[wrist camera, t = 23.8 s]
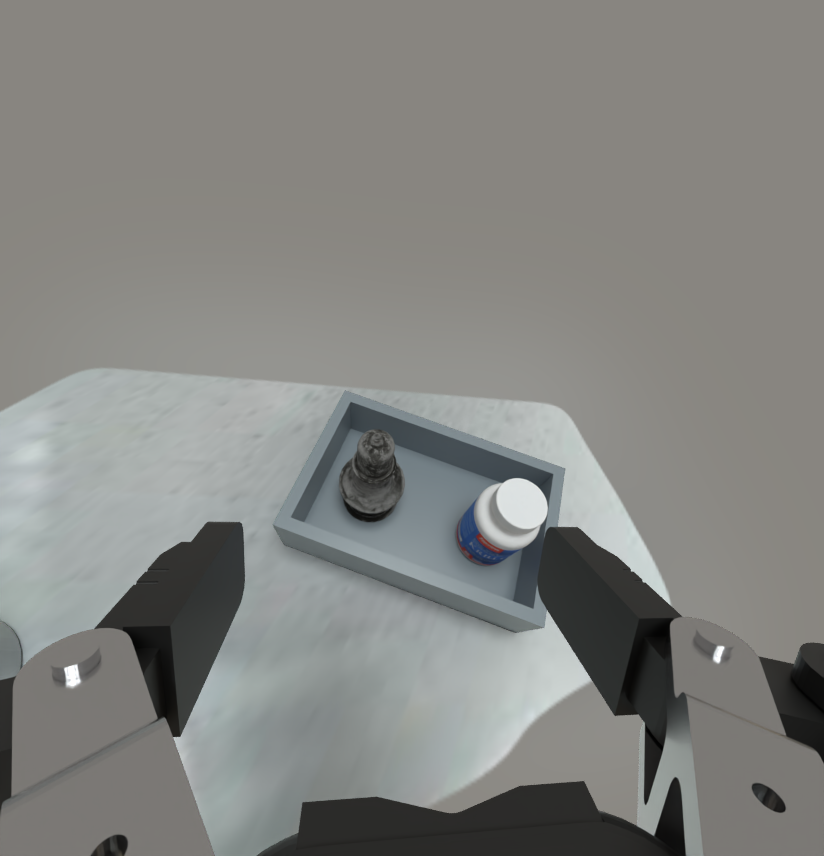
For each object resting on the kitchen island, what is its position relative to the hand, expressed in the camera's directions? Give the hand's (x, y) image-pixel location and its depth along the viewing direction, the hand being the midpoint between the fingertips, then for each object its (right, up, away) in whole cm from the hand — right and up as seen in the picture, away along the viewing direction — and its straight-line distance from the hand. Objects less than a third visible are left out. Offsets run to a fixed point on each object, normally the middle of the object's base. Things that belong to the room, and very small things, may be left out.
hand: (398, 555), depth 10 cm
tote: (+1, -5, +28) cm, 29 cm away
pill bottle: (+7, -7, +27) cm, 29 cm away
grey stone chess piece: (-4, -3, +28) cm, 28 cm away
